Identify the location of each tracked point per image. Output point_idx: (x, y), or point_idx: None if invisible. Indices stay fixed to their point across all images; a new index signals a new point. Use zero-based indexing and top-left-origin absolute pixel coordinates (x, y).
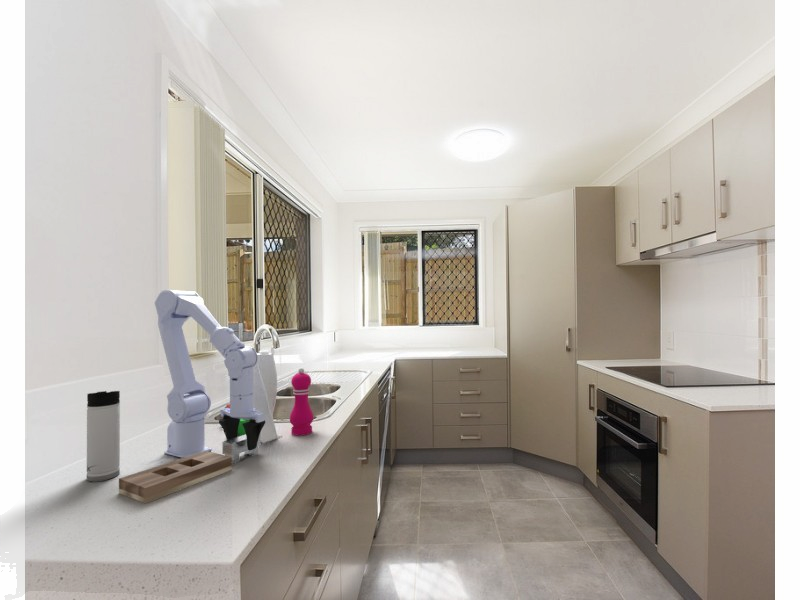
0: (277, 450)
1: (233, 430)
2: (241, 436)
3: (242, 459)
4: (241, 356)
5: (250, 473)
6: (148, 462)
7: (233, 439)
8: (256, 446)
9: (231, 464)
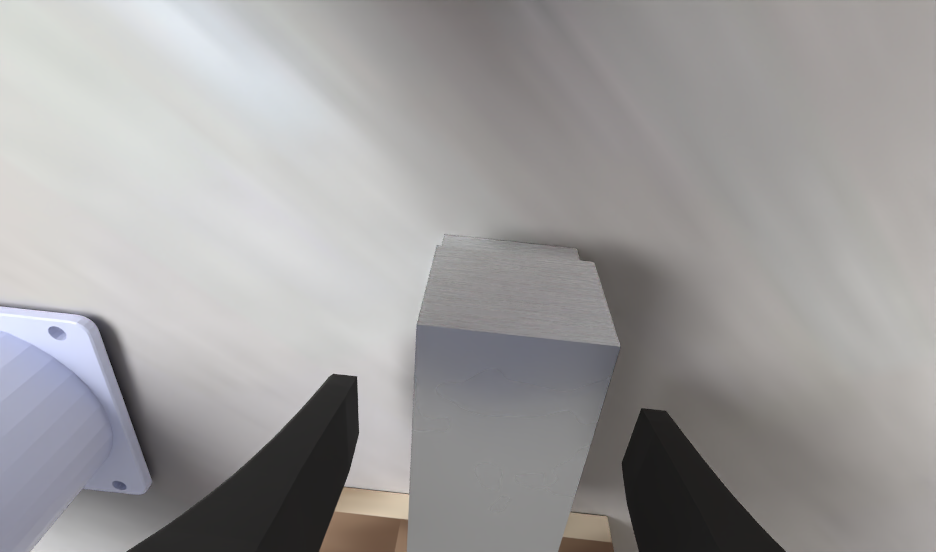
0: (721, 75)
1: (296, 534)
2: (434, 468)
3: None
4: None
5: (770, 523)
6: (44, 548)
7: (444, 549)
8: (675, 424)
9: (612, 550)
